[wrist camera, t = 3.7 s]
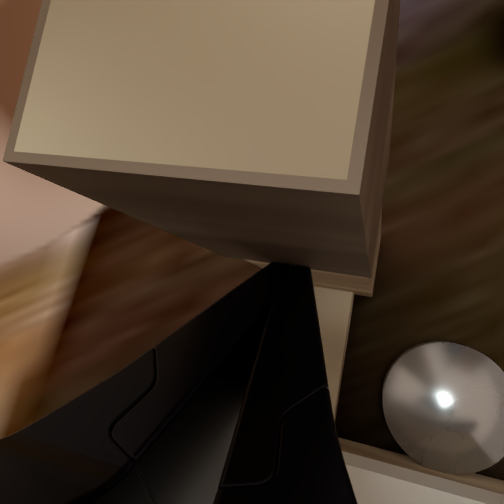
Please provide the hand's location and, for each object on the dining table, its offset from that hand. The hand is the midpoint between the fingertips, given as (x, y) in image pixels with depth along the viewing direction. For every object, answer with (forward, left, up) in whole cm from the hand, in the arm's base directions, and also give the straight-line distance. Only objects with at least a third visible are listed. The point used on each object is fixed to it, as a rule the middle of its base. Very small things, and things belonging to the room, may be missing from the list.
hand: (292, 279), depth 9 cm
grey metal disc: (-3, -5, -9) cm, 11 cm away
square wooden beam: (-2, -3, -9) cm, 9 cm away
